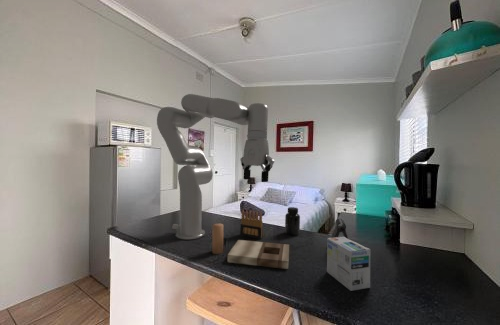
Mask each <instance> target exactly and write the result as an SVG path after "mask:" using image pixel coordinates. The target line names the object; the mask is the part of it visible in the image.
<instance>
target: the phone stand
mask: <svg viewBox="0 0 500 325" xmlns="http://www.w3.org/2000/svg"><path fill="white" fill-rule="evenodd" d="M340 220H341V221H340ZM341 223H342V224H341ZM340 224H341V225H340ZM346 226H347V225H346V223H345V221H344V220H343V218H340V219H339V218H337V219H336V220H335V228H333V232H332V234H331V236H330V238H336V237H340V236H339V235H340V233H342V235H343V236H342V237H346V238H347V239H349V237H348V234H347V231H346V229H347V227H346Z"/></svg>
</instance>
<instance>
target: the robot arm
mask: <svg viewBox="0 0 500 325" xmlns="http://www.w3.org/2000/svg"><path fill="white" fill-rule="evenodd" d="M180 104H181V107H182V109H180V108H176V107H172V106H165V107H164V106H163V107H162V108H160V109H159V111H158V113H157V115H156V125H157V129H158V131H159V134H160V135H161V137H162V138H163V141H164V142H165V145H166V146H167V148H168V151H169V153H170V155H171V157H172V160H173V162H174V163H175V164H176V165H178V166H179V165H180V166H182V167H181V168H180V169H179V171H178V173H177V181H178V186H179V224H178V223H173V224H172V227H171V229H172V230H174V231H176V232H175V237H176V238H177V239H180V240H187V241H189V240H196V239H200V238H203V236H205V234H206V232H205V229H202V217H203V216H202V214H203V213H202V211H203V209H202V208H203V207H202V206H203V205H202V204H203V202H202V201H203V193H202V191H201V187H200V186H201V185H206V184H208V183H210V182H211V181H212V180H213V169H212V167H211V165H210V163H209V161H208V159H207V157H206V155H205V152H204V151H203V150H202V149H201V148H200V147H199V146H196V145H191V144H188V143H187V141H186V139H185V137H184V135H183V134H182V132H181V131H180V130H179V129H178V128H181V129H189V128H191V127H193V126H195V125H196V124H198V123H199V122H201V121H202V120H203V119H204V118H208V119H214V118H216V119H221V120H224V121H229V122H231V123H234V124H238V125H241V126H247V134H246V138H247V139H246V140H245V142H244V149H243V156H242V157H240V164H241V166H242V170H243V181H244V180H245V181H246V180H247V181H248V180H251V171H252V170H251V167H252V166H254V167H261V170H262V171H261V176H260V177H261V179H260V180H261V182H262V183H268V182H269V173H270V171H271V169H272V168H273V165H274V163H275V159H274V158H273V157H271V156H270V150H269V141H268V138H267V137H268V122H269V121H268V119H269V109H268V105H266V104H265V103H259V102H258V103H256V102H255V103H251V104H250V105H249V106H247V105H243V104H242V103H240V102H238V101H234V100H231V99H230V100H229V99H227V98H226V99H225V98H220V97H211V96H210V97H209V96H204V95H199V94H194V93H188V94H185V95H184V96H182V98H181V101H180Z"/></svg>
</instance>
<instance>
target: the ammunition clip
mask: <svg viewBox="0 0 500 325" xmlns="http://www.w3.org/2000/svg"><path fill="white" fill-rule="evenodd" d="M240 218H241V220H240V232H239V235H240V236H244V237H248V238H252V239H256V240H262V239H263V238H264V229H263V228H264V227H263V214H262V211H260V212H258V210H256V212H255V210H254V209H253V210H251V209H249V212H248V209H246V210H244V208H242V210H241V217H240Z"/></svg>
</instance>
